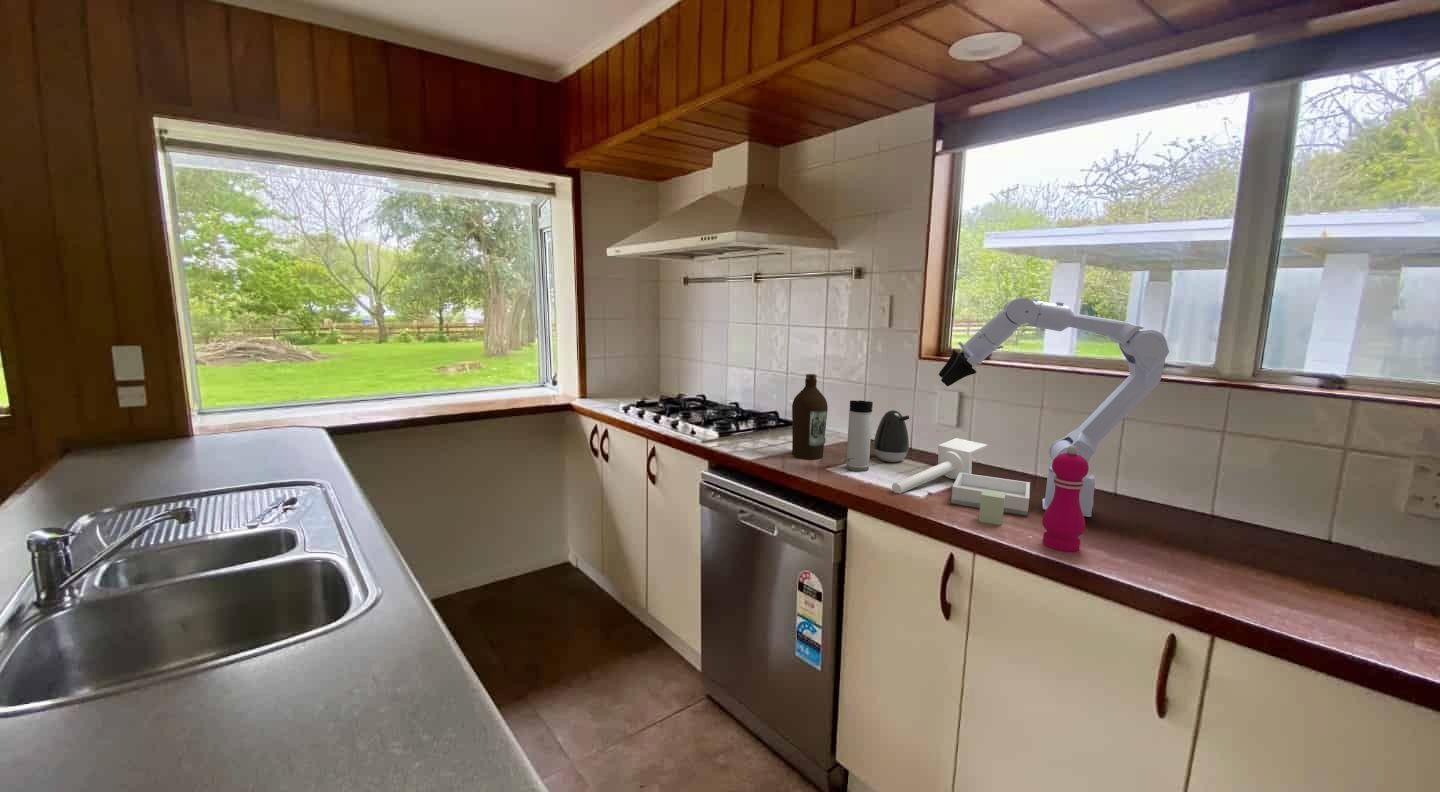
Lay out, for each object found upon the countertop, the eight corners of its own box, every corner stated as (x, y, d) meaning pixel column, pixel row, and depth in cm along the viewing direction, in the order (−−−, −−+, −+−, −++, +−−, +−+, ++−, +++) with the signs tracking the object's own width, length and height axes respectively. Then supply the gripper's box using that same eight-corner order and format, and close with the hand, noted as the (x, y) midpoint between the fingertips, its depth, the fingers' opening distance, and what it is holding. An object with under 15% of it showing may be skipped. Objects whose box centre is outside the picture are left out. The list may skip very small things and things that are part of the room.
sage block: (1002, 518, 128) (1005, 492, 127) (1001, 525, 124) (1004, 498, 123) (980, 514, 130) (982, 489, 129) (978, 521, 126) (981, 494, 125)
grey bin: (1028, 498, 142) (1030, 482, 141) (1027, 515, 130) (1029, 498, 129) (958, 487, 149) (959, 472, 149) (951, 503, 137) (952, 486, 136)
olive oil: (782, 454, 179) (786, 373, 175) (807, 449, 185) (811, 371, 181) (807, 462, 170) (811, 377, 166) (832, 457, 177) (836, 375, 173)
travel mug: (845, 471, 162) (849, 400, 159) (846, 464, 168) (850, 396, 165) (868, 472, 161) (873, 401, 157) (868, 466, 167) (872, 398, 164)
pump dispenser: (895, 466, 168) (899, 414, 165) (865, 458, 175) (868, 409, 173) (915, 461, 174) (919, 411, 172) (885, 454, 182) (889, 406, 179)
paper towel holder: (987, 444, 156) (912, 476, 139) (986, 475, 158) (912, 510, 141) (956, 438, 164) (881, 467, 146) (956, 467, 166) (881, 499, 148)
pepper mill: (1031, 540, 116) (1042, 442, 113) (1057, 536, 118) (1069, 440, 115) (1064, 555, 109) (1076, 451, 106) (1091, 550, 112) (1104, 448, 108)
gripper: (970, 324, 143) (928, 364, 147) (979, 331, 129) (932, 374, 134) (992, 344, 142) (949, 383, 147) (1002, 353, 129) (955, 395, 133)
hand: (942, 380), depth 140 cm, fingers open, 7 cm apart
